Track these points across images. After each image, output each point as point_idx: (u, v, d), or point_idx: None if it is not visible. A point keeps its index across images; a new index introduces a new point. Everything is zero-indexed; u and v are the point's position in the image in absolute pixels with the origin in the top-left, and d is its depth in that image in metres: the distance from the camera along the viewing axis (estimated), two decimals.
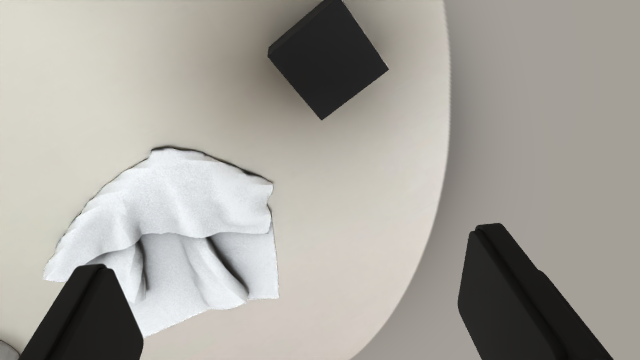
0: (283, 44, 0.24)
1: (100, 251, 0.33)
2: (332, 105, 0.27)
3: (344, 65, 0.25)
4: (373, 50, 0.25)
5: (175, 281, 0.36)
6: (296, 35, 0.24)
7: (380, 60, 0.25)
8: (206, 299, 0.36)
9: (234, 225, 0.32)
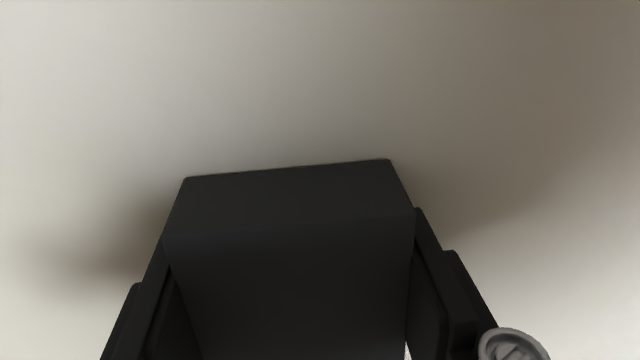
0: None
1: None
2: None
3: None
4: None
5: None
6: None
7: None
8: None
9: None
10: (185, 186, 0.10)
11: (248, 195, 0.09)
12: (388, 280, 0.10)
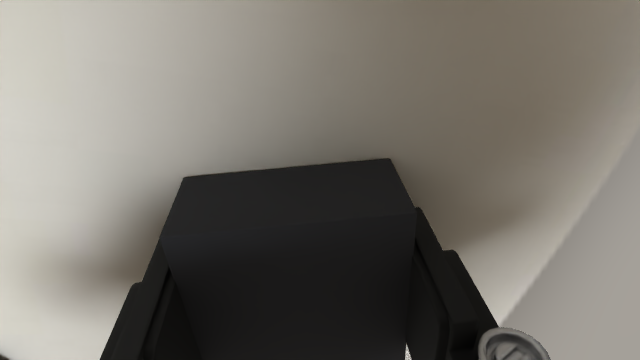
0: (219, 233, 0.08)
1: None
2: None
3: (328, 328, 0.10)
4: (403, 330, 0.11)
5: None
6: (264, 234, 0.08)
7: (402, 349, 0.11)
8: None
9: None
10: None
11: None
12: None
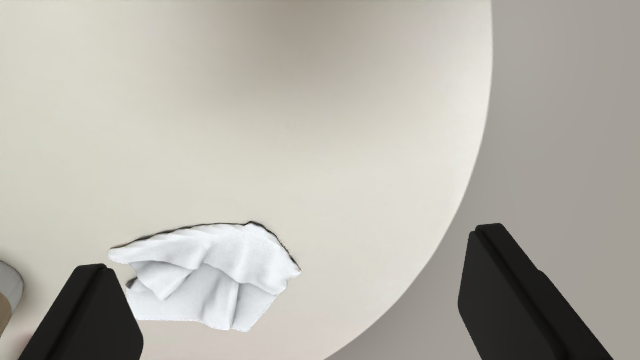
0: None
1: (167, 260, 0.44)
2: None
3: None
4: None
5: (191, 295, 0.49)
6: None
7: None
8: (205, 316, 0.49)
9: (263, 284, 0.47)
10: None
11: None
12: None
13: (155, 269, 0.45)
